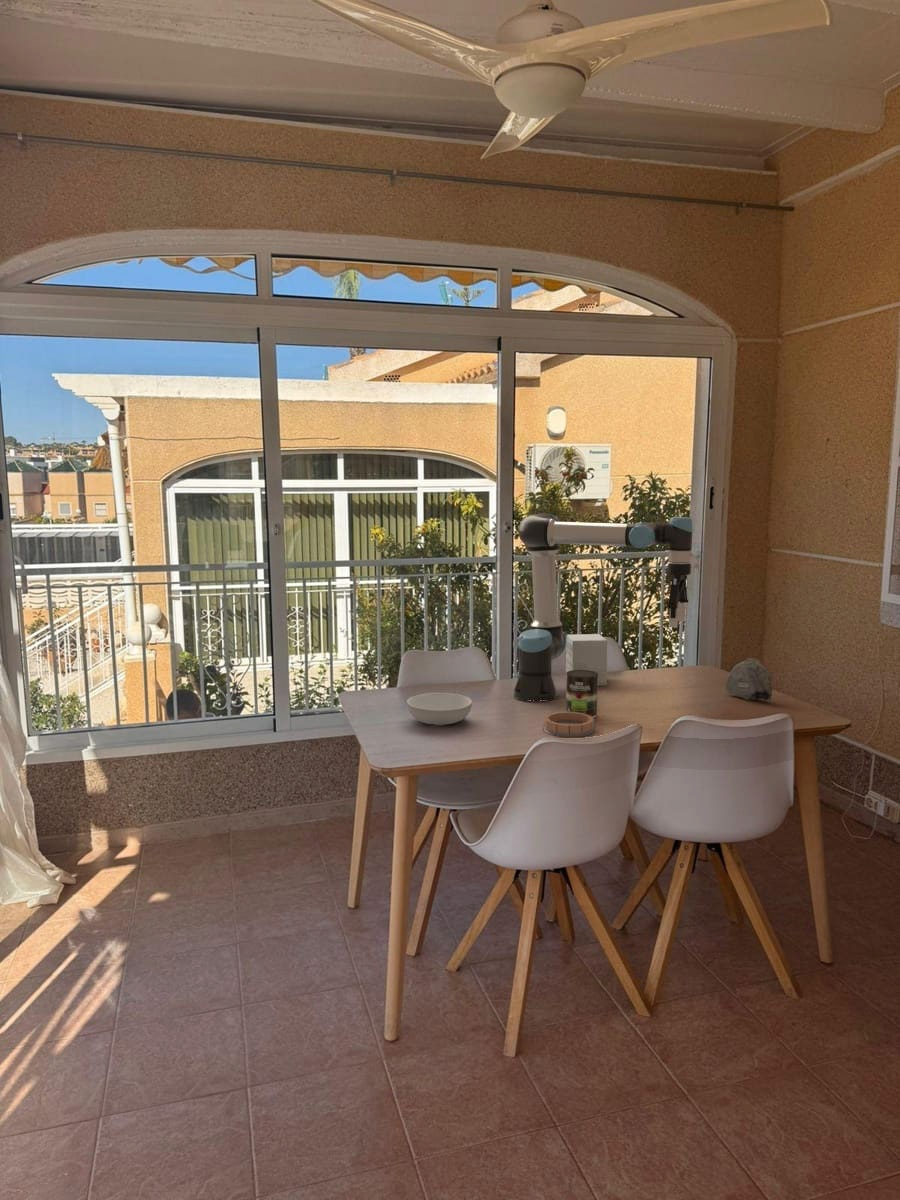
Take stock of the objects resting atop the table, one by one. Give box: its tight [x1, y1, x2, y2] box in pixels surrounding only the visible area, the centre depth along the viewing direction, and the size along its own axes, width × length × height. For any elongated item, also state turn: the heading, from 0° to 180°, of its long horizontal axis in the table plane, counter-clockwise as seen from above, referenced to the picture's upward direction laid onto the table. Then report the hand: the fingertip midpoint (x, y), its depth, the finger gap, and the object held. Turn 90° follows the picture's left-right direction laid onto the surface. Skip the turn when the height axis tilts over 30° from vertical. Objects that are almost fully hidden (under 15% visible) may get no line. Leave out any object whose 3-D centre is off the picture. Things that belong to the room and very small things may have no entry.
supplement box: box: [565, 633, 608, 686], centre depth 311 cm, size 13×13×18 cm
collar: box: [542, 711, 596, 738], centre depth 252 cm, size 16×16×4 cm
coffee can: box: [565, 670, 599, 719], centre depth 267 cm, size 10×10×14 cm
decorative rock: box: [724, 657, 773, 701], centre depth 284 cm, size 16×7×15 cm, turn 33°
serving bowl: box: [406, 692, 473, 726], centre depth 262 cm, size 21×21×7 cm
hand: (677, 624), depth 280 cm, fingers open, 13 cm apart
